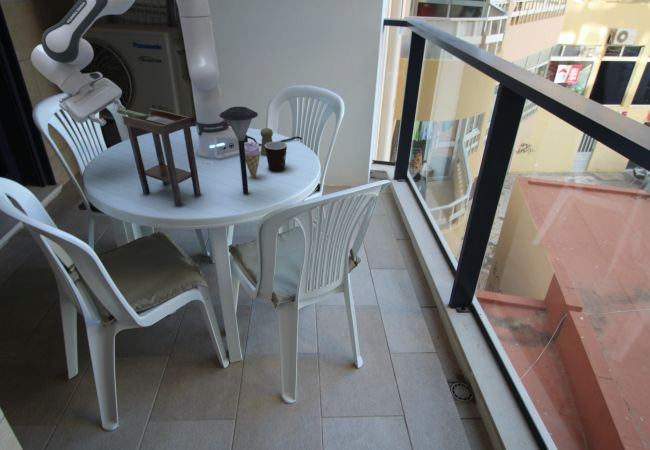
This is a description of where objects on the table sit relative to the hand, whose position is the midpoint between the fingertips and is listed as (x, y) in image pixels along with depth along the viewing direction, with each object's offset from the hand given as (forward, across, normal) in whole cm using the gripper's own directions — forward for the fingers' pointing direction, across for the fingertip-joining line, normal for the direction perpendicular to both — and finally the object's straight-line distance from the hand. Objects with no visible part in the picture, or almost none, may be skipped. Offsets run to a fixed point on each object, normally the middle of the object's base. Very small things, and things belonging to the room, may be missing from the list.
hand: (114, 117), depth 138 cm
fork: (+11, -4, -17) cm, 20 cm away
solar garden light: (+51, 0, -16) cm, 53 cm away
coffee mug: (+55, +24, -12) cm, 61 cm away
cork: (+49, +35, -2) cm, 60 cm away
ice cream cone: (+50, +12, -11) cm, 52 cm away
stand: (+32, -11, -2) cm, 34 cm away
